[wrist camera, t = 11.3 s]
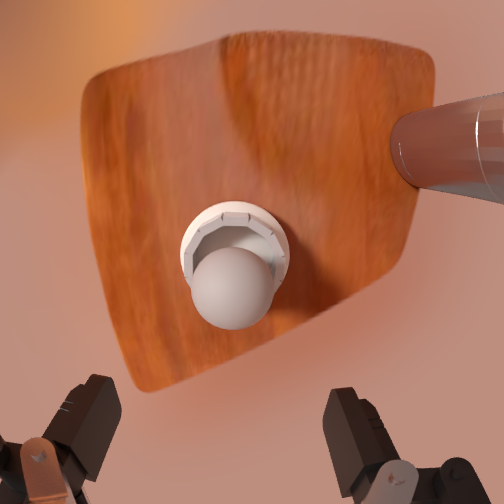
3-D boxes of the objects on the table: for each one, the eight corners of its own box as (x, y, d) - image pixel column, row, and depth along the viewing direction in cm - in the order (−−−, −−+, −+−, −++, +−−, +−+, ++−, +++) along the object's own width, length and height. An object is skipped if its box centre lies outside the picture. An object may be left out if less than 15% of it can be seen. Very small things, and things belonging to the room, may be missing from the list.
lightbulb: (273, 276, 30) (288, 332, 19) (216, 292, 30) (203, 354, 19) (255, 219, 28) (263, 248, 17) (196, 237, 28) (169, 277, 18)
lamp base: (258, 181, 29) (261, 183, 24) (303, 272, 32) (313, 290, 27) (165, 231, 30) (152, 242, 25) (215, 314, 33) (212, 337, 28)
